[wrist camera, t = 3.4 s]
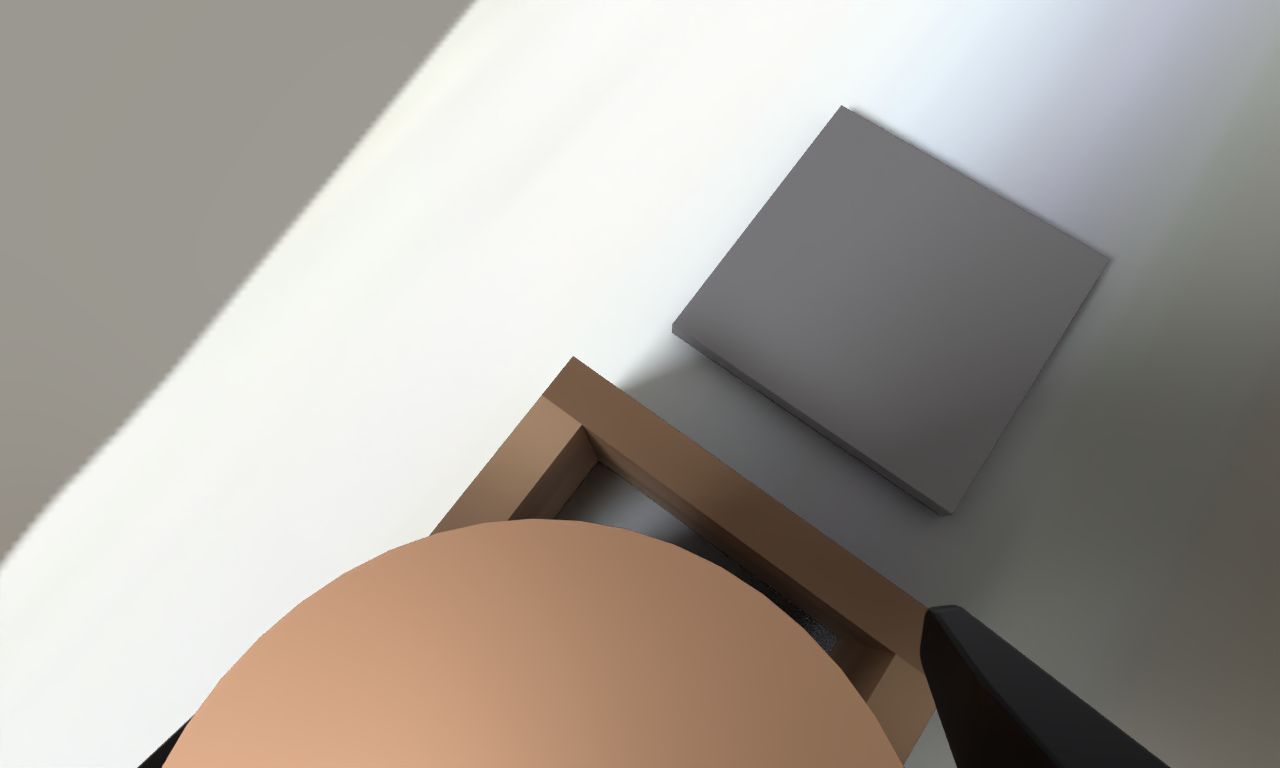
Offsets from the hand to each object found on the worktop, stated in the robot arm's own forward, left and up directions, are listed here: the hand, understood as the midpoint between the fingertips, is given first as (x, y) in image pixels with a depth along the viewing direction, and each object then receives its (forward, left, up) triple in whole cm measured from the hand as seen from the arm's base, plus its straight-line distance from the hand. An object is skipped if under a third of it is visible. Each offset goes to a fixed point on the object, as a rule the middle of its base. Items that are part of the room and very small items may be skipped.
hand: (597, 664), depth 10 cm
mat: (+7, -8, -7) cm, 13 cm away
